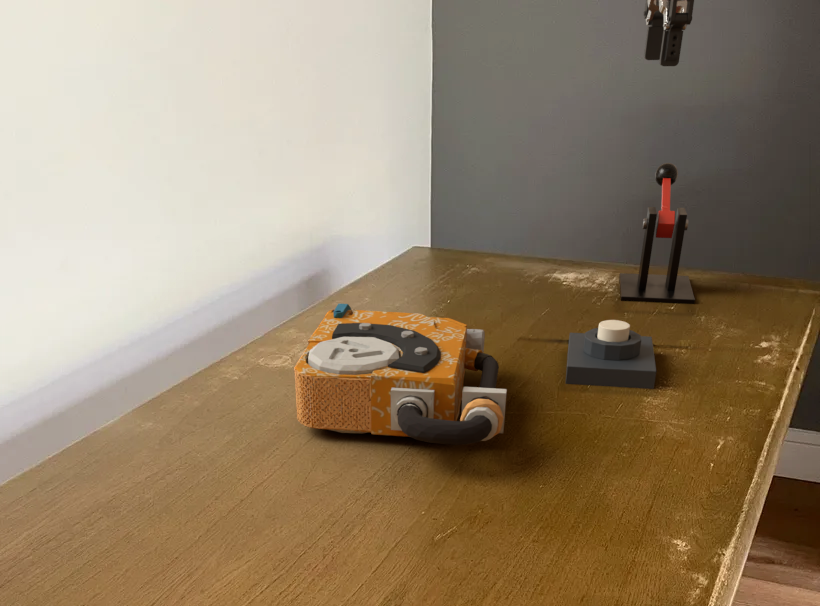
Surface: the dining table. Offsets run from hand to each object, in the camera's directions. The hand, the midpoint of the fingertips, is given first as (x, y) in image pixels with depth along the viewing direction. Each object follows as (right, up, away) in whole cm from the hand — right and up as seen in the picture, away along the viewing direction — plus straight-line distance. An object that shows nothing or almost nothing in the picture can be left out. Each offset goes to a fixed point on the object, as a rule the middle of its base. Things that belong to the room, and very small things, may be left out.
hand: (660, 62), depth 120 cm
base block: (-8, -40, -5) cm, 41 cm away
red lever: (+6, -11, +17) cm, 22 cm away
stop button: (-8, -37, -7) cm, 38 cm away
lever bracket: (+5, -23, +19) cm, 30 cm away
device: (-33, -47, -15) cm, 59 cm away
